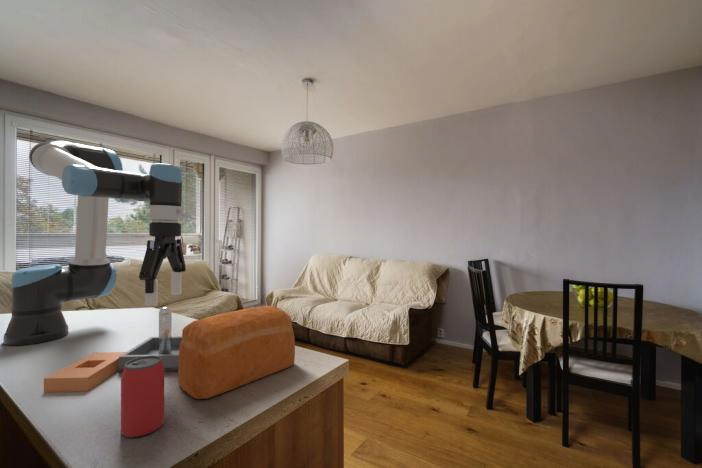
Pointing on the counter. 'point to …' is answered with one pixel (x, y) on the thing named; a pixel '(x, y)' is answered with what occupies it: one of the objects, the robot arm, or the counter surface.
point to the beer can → (142, 396)
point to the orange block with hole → (84, 373)
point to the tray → (154, 353)
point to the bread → (234, 350)
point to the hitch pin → (165, 331)
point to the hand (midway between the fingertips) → (164, 299)
